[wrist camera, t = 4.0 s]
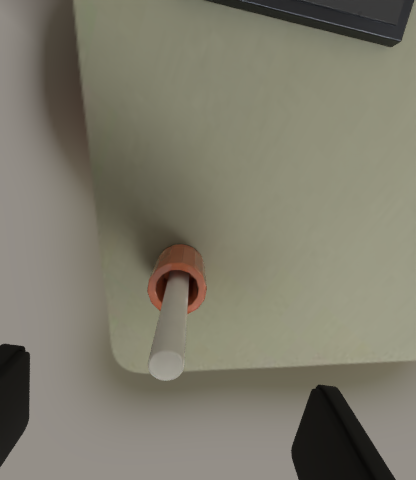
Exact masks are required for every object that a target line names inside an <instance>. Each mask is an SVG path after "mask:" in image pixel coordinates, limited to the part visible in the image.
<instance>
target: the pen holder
mask: <svg viewBox="0 0 416 480" xmlns="http://www.w3.org/2000/svg"><path fill="white" fill-rule="evenodd" d="M171 270H182V271H185V272H187V273H189V290H188V308H187V314H189V313H191V312H193V311H194V310H196V309H198V307H199V306H200V305H201V303H202V302H203V301H204V299H205V295H206V290H207V286H206V275H205V266H204V262H203V259H202V256H201V255H200V253H199V252H198V251H197V250H196V249H194V248H192V247H191V246H188V245H183V244H177V245H173V246H170V247H168V248H166V249H165V250H164V251H163V252H162V253H161V254H160V256H159V258H158V259H157V262H156V264H155V266H154V269H153V271H152V274H151V276H150V279H149V283H148V290H147V291H148V295H149V297H150V300H151V302H152V304H153V305H154V306H155V307H156V308H158V309H159V310H160V311H161V307H162V302H163V298H164V294H165V290H166V286H167V282H168V278H169V273H170V271H171Z"/></svg>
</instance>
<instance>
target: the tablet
mask: <svg viewBox="0 0 416 480" xmlns="http://www.w3.org/2000/svg"><path fill="white" fill-rule="evenodd" d="M207 1H211V2H215V3H219V4H223V5H227V6H231V7H235V8H239V9H243V10H247V11H251V12H255V13H259V14H263V15H267V16H271V17H275V18H279V19H283V20H287V21H291V22H295V23H299V24H303V25H307V26H311V27H315V28H319V29H323V30H327V31H331V32H335V33H339V34H343V35H347V36H351V37H355V38H359V39H363V40H367V41H371V42H375V43H379V44H382V45H386V46H390V47H393V46H394V45H396V44H398V43H399V42H401V40H402V37H403V34H404V31H405V28H406V24H407V21H408V18H409V15H410V12H411V9H412V6H413V3H414V0H207Z"/></svg>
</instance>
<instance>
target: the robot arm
mask: <svg viewBox="0 0 416 480" xmlns="http://www.w3.org/2000/svg"><path fill="white" fill-rule="evenodd" d="M29 380H30V354H29V352H25V347H24V346H18V345H10V344H2V345H0V467H1V465H2V464H3V462H4V461H5V459H6V458H7V456H8V455H9V453H10V452H11V450H12V449H13V447H14V446H15V444H16V443H17V441H18V440H19V438H20V437H21V435H22V434H23V432H24V430H25V429H26V426H27V424H28V421H29V382H30V381H29ZM291 451H292V459H293V463H294V466H295V469H296V472H297V476H298V479H299V480H396V479H395V478H394V476H393V475H392V473H391V472H390V470H389V468H388V467H387V465H386V464H385V462H384V460H383V459H382V457H381V456H380V454H379V453H378V451H377V449H376V448H375V446H374V445H373V443H372V441H371V440H370V438H369V437H368V435H367V434H366V432H365V430H364V429H363V427H362V426H361V424H360V422H359V421H358V419H357V418H356V416H355V415H354V413H353V411H352V410H351V408H350V407H349V405H348V404H347V402H346V400H345V399H344V397H343V395H342V394H341V392H340V391H339V390H338V388H336V387H333V386H325V385H318V386H317V387H316V389H312V391H311V393H310V396H309V399H308V402H307V405H306V408H305V411H304V413H303V416H302V419H301V422H300V425H299V428H298V431H297V433H296V436H295V439H294V442H293V445H292V450H291Z"/></svg>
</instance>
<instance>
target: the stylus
mask: <svg viewBox="0 0 416 480" xmlns="http://www.w3.org/2000/svg"><path fill="white" fill-rule="evenodd" d="M188 290H189V273H187V272H185V271H182V270H171V271H170V273H169V278H168V282H167V286H166V290H165V294H164V298H163V302H162V307H161V311H160V315H159V319H158V323H157V327H156V331H155V336H154V340H153V344H152V348H151V352H150V356H149V360H148V369H149V371H150V373H151V374H152V375H153V376H154V377H155V378H157V379H160V380H165V381H166V380H172V379H175V378H177V377H178V376H179V375H180V374H181V373H182V371H183V369H184V363H185V345H186V326H187V308H188Z"/></svg>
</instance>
